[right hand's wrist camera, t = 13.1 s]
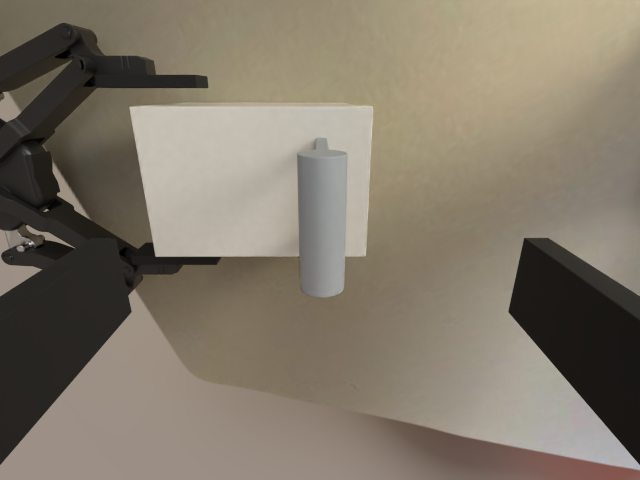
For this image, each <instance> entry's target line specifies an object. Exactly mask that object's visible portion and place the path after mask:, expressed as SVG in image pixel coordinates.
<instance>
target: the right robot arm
mask: <svg viewBox="0 0 640 480" xmlns="http://www.w3.org/2000/svg"><path fill="white" fill-rule="evenodd" d="M130 313H131V307H130V303H129V298H128V293H127V288H126V284H125V279H124V274H123V270H122V265H121V260H120V256H119V251H118V246H117V242H116V238H91V239H90V240H88V241H87V242H85V243H83V244H82V245H80V246H79V247H77V248H76V249H74V250H72V251H71V252H69V253H68V254H66V255H65V256H63V257H61V258H60V259H58V260H57V261H55V262H54V263H52V264H51V265H49V266H47V267H46V268H44V269H43V270H41V271H40V272H38V273H36V274H35V275H33V276H32V277H30V278H29V279H27V280H25V281H24V282H22V283H21V284H19V285H18V286H16V287H14V288H13V289H11V290H10V291H8V292H7V293H5V294H4V295H2V296H0V464H1V463H2V462H3V461H4V460H5V459H6V457H7V456H8V455H9V454H10V453H11V452H12V451H13V449H14V448H15V447H16V446H17V445H18V444H19V442H20V441H21V440H22V439H23V438H24V437H25V435H26V434H27V433H28V432H29V431H30V430H31V428H32V427H33V426H34V425H35V424H36V423H37V421H38V420H39V419H40V418H41V417H42V416H43V414H44V413H45V412H46V411H47V410H48V409H49V407H50V406H51V405H52V404H53V403H54V402H55V400H56V399H57V398H58V397H59V396H60V395H61V393H62V392H63V391H64V390H65V389H66V388H67V386H68V385H69V384H70V383H71V382H72V381H73V379H74V378H75V377H76V376H77V375H78V374H79V373H80V371H81V370H82V369H83V368H84V367H85V365H86V364H87V363H88V362H89V361H90V360H91V359H92V357H93V356H94V355H95V354H96V353H97V352H98V350H99V349H100V348H101V347H102V346H103V345H104V343H105V342H106V341H107V340H108V339H109V338H110V336H111V335H112V334H113V333H114V332H115V331H116V329H117V328H118V327H119V326H120V325H121V324H122V322H123V321H124V320H125V319H126V318H127V317H128V315H129V314H130ZM509 313H510V314H511V315H512V317H513V318H514V319H515V320H516V321H517V322H518V324H519V325H520V326H521V327H522V328H523V329H524V331H525V332H526V333H527V334H528V335H529V336H530V338H531V339H532V340H533V341H534V342H535V343H536V345H537V346H538V347H539V348H540V349H541V350H542V352H543V353H544V354H545V355H546V356H547V357H548V359H549V360H550V361H551V362H552V363H553V364H554V366H555V367H556V368H557V369H558V370H559V371H560V373H561V374H562V375H563V376H564V377H565V378H566V380H567V381H568V382H569V383H570V384H571V385H572V386H573V388H574V389H575V390H576V391H577V392H578V393H579V395H580V396H581V397H582V398H583V399H584V400H585V402H586V403H587V404H588V405H589V406H590V407H591V409H592V410H593V411H594V412H595V413H596V414H597V416H598V417H599V418H600V419H601V420H602V421H603V423H604V424H605V425H606V426H607V427H608V428H609V430H610V431H611V432H612V433H613V434H614V435H615V437H616V438H617V439H618V440H619V441H620V442H621V444H622V445H623V446H624V447H625V448H626V449H627V451H628V452H629V453H630V454H631V455H632V456H633V457H634V459H635V460H636V461H637V462H638V463H639V464H640V296H638V295H636V294H635V293H633V292H632V291H630V290H629V289H627V288H626V287H624V286H622V285H621V284H619V283H618V282H616V281H615V280H613V279H611V278H610V277H608V276H607V275H605V274H604V273H602V272H600V271H599V270H597V269H596V268H594V267H593V266H591V265H589V264H588V263H586V262H585V261H583V260H582V259H580V258H579V257H577V256H575V255H574V254H572V253H571V252H569V251H568V250H566V249H564V248H563V247H561V246H560V245H558V244H557V243H555V242H553V241H552V240H550V239H549V238H524V242H523V246H522V251H521V256H520V260H519V265H518V270H517V274H516V279H515V284H514V288H513V293H512V298H511V302H510V307H509Z"/></svg>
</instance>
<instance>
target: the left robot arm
mask: <svg viewBox="0 0 640 480" xmlns="http://www.w3.org/2000/svg"><path fill="white" fill-rule="evenodd" d="M72 59H73V60H72ZM70 60H72V62H71V63H70V64H69V65H68V66H67V67H66V68H65V69H64V70H63V71H62V72H61V73H60V74H59V75H58V76H57V77H56V78H55V79H54V80H53V81H52V82H51V83H50V84H49V85H48V86H47V87H46V88H45V89H44V90H43V91H42V92H41V93H40V94H39V95H38V96H37V97H36V98H35V99H34V100H33V101H32V102H31V103H30V104H29V105H28V106H27V107H26V108H25V109H24V110H23V111H22V112H21V114H20V115H19V116H18V117H17V118H15V119H13V120H11V121H9V122H5V121H3V120H2V119H0V229H1V230H4V231H5V234H6V237H7V241H8V245H9V249H8V250H6V251H4V252H3V253H2V255H1V257H2V260H3V261H4V262H5V263H7V264H9V265H20V266H34V267H37V268H40V269H44V268H46V267H47V266H49V265H51V264H52V263H54V262H55V261H57V260H58V259H60V258H61V257H63V256H65V255H66V254H68V253H69V252H71V251H72V250H74V249H75V248H77V247H79V246H80V245H82V244H83V243H85V242H87V241H88V240H90V239H91V238H116V242H117V246H118V251H119V256H120V260H121V265H122V270H123V274H124V279H125V284H126V288H127V293H128V295H129V294H130V293H131V292H132V291H133V290H134V289H135V288H136V287H137V286H138V285H139V283H140V282H141V281H142V280H143V276H142V274H174V273H177V272H178V271H179V270H180V268H181V267H182V266H183V265H217V263H218V261H219V260H220V258H221V257H156V256H155V251H154V245H153V243H145V244H144V245H143V246H142V247H140V248H139V249H137V248H135V247H133V246H132V245H130V244H128V243H127V242H125V241H124V240H122V239H120V238H119V237H117V236H115V235H114V234H112V233H110V232H109V231H107V230H106V229H104V228H102V227H101V226H99V225H97V224H96V223H94V222H93V221H91V220H89V219H88V218H86V217H84V216H83V215H81V214H79V213H78V212H76V211H75V210H74V207H73V205H71V204H70V203H68V202H67V201H65V200H63V199H62V198H60V197H58V196H57V193H58V192H60V189H59V185H58V182H57V180H56V178H55V176H54V174H53V172H52V158H51V154H50V152H46V151H45V149H44V147H43V146H42V144H43V143H44V142H46V141H47V140H48V139H49V138H50V137H51V136H52V135H53V134H54V133H55V130H54V129H55V128H56V127H57V126H58V125H59V124H60V123H61V122H62V121H63V120H64V119H65V118H66V117H68V116H69V115H70V114H71V113H72V112H73V111H74V110H75V109H76V108H77V107H78V106H79V105H80V104H81V103H82V102H83V101H84V100H85V99H86V98H87V97H88V96H89V95H90V94H91V93H92V92H93V91H94V90H95V89H96V88H208V80H207V77H206V76H199V75H156V73H155V66H154V61H152V60H150V59H148V58H144V57H139V56H105V55H104V54H103V53H102V52H101V51H100V49H99V48H98V46H97V37H96V35H95V34H94V33H93V32H92V31H91V30H88V29H85V28H81V27H78V26H74V25H70V24H66V23H62V24H59V25H57V26H55V27H54V28H52V29H50V30H48V31H46V32H45V33H43V34H41V35H39V36H37V37H35V38H34V39H32V40H30V41H28V42H26V43H25V44H23V45H21V46H19V47H17V48H15V49H14V50H12V51H10V52H8V53H6V54H5V55H3V56H1V57H0V101H1V100H3V99H4V94H3V93H2V92H7V91H11V90H15V89H17V88H19V87H21V86H23V85H25V84H27V83H29V82H31V81H33V80H34V79H36V78H38V77H40V76H42V75H44V74H46V73H48V72H50V71H51V70H53V69H55V68H57V67H59V66H61V65H63V64H65V63H66V62H68V61H70ZM46 209H48V210H49V211H47V212H43V211H44V210H46ZM26 225H29V226H30V227H32V228H34V229H36V230H38V231H41V232H49V233H51V234H53V235H54V236H56V237H58V238H59V239H61V240H63V241H65V242H66V243H68V244H70V245H71V246H73V247H75V248H72V247H69V246H66V245H64V244H61V243H57V242H53V241H47V240H45V237H44V236H43V235H35V234H32V233H30V232H29V231H28V230H27V228H26Z"/></svg>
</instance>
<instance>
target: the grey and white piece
mask: <svg viewBox="0 0 640 480" xmlns="http://www.w3.org/2000/svg"><path fill="white" fill-rule="evenodd" d="M129 109H130V115H131V120H132V126H133V132H134V137H135V143H136V149H137V154H138V160H139V166H140V171H141V177H142V183H143V188H144V194H145V200H146V205H147V211H148V217H149V222H150V228H151V234H152V239H153V245H154V251H155V256H156V257H299V266H300V289H301V291H302V292H303V293H305V294H307V295H309V296H312V297H318V298H326V297H332V296H335V295H338V294H340V293H341V292H342V291H343V289H344V275H345V257H365V256H366V242H367V222H368V201H369V181H370V161H371V140H372V120H373V107H372V106H130V107H129Z"/></svg>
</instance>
